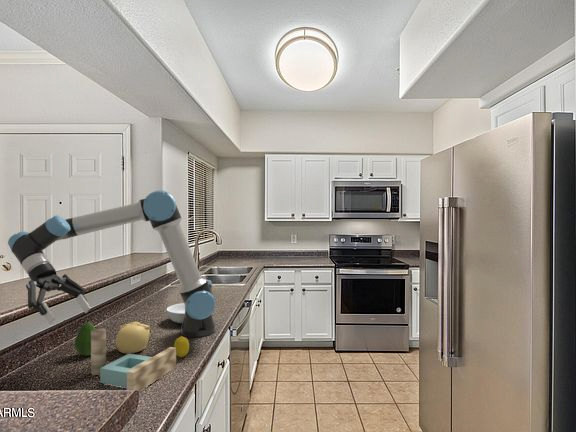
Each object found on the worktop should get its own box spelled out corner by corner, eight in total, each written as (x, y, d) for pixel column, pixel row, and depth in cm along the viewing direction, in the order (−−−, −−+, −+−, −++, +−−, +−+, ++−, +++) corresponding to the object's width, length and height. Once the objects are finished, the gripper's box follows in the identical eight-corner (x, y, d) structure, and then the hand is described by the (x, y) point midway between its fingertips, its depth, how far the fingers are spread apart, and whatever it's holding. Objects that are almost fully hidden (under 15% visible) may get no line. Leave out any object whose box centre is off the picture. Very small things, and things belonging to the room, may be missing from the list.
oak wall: (170, 367, 122) (170, 346, 122) (176, 368, 121) (176, 347, 121) (126, 395, 103) (126, 371, 103) (133, 396, 102) (133, 372, 102)
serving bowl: (199, 329, 162) (199, 314, 162) (157, 326, 166) (157, 311, 166) (217, 316, 182) (217, 303, 182) (180, 314, 187) (179, 301, 187)
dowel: (98, 369, 121) (98, 328, 121) (109, 370, 119) (108, 329, 119) (87, 374, 117) (87, 332, 117) (98, 376, 115) (98, 333, 115)
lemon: (170, 358, 130) (170, 336, 130) (183, 353, 134) (183, 332, 134) (179, 362, 126) (179, 339, 126) (192, 357, 131) (192, 335, 131)
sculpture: (153, 344, 143) (153, 318, 143) (142, 356, 131) (141, 327, 131) (124, 345, 143) (124, 318, 143) (110, 357, 131) (110, 328, 131)
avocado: (93, 349, 138) (93, 318, 138) (102, 354, 133) (102, 322, 133) (71, 355, 132) (71, 323, 132) (79, 361, 127) (79, 328, 127)
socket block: (128, 368, 122) (128, 353, 122) (158, 373, 118) (158, 358, 118) (100, 384, 110) (100, 368, 110) (131, 390, 106) (131, 373, 106)
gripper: (65, 270, 139) (95, 312, 134) (-5, 282, 115) (28, 334, 110) (76, 258, 137) (106, 300, 132) (7, 267, 113) (41, 318, 109)
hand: (71, 315), depth 121 cm, fingers open, 13 cm apart
